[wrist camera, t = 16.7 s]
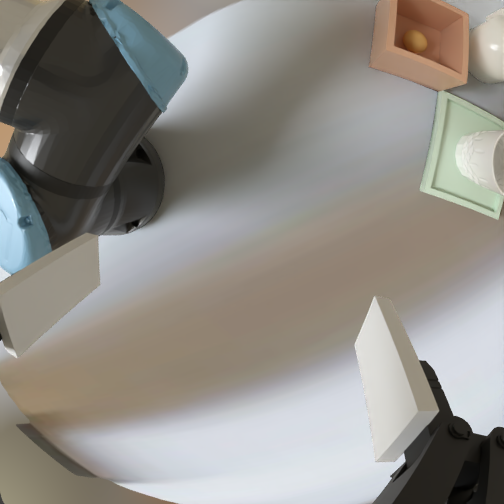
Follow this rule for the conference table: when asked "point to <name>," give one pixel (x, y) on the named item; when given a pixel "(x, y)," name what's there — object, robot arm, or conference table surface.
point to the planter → (438, 38)
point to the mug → (488, 49)
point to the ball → (415, 41)
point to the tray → (443, 155)
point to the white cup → (482, 159)
